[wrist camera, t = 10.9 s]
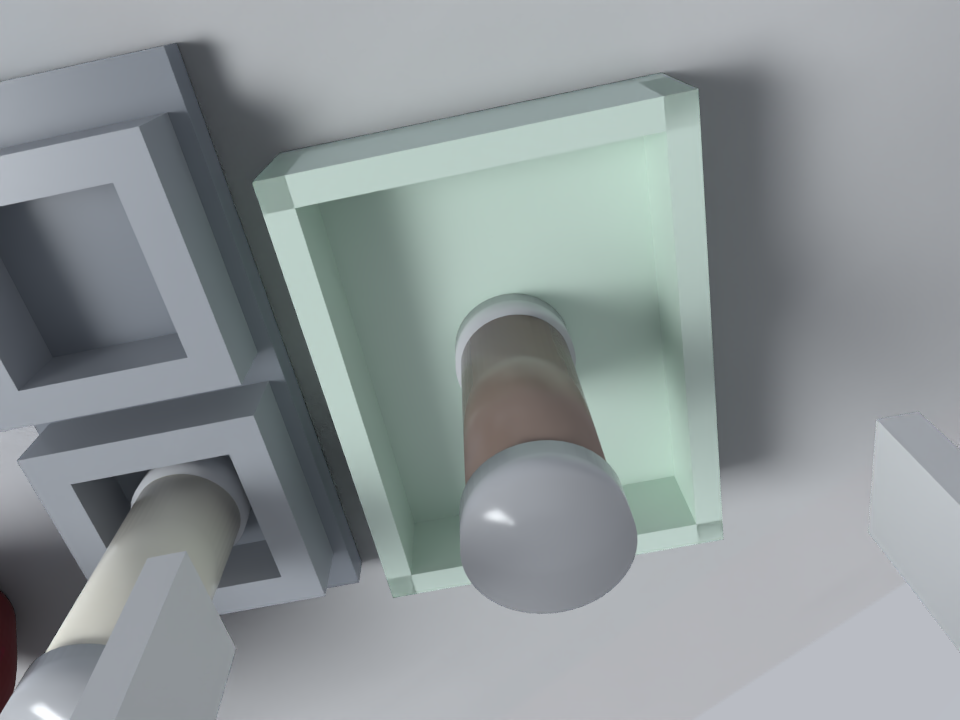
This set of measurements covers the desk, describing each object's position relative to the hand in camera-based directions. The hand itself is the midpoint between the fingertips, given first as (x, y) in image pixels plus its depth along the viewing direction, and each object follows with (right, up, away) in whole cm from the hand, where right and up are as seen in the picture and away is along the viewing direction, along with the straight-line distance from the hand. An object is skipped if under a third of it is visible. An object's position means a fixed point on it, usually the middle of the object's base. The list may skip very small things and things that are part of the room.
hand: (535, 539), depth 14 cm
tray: (0, +4, +9) cm, 10 cm away
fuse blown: (0, +4, +8) cm, 9 cm away
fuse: (-10, -1, +10) cm, 14 cm away
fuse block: (-11, +3, +9) cm, 15 cm away
